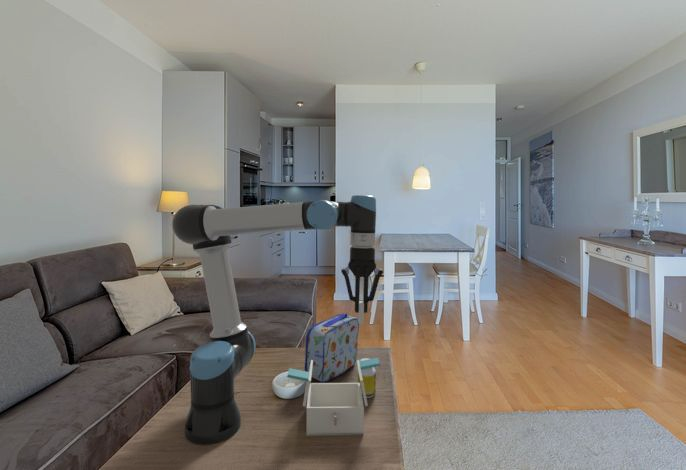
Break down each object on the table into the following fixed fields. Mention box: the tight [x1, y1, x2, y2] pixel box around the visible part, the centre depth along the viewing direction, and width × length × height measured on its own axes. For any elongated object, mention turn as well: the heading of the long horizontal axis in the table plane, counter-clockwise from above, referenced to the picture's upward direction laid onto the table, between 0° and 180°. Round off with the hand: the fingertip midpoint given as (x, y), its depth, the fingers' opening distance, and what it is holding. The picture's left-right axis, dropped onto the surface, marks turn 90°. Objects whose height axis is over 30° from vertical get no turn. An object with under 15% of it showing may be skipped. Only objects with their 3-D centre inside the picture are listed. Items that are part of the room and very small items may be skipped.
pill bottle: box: [356, 357, 377, 399], centre depth 120 cm, size 6×6×12 cm
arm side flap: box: [286, 360, 313, 407], centre depth 104 cm, size 8×13×7 cm
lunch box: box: [304, 313, 360, 383], centre depth 136 cm, size 28×10×22 cm, turn 148°
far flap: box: [356, 357, 381, 407], centre depth 105 cm, size 8×13×7 cm
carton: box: [306, 382, 365, 437], centre depth 104 cm, size 16×16×8 cm
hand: (360, 322), depth 108 cm, fingers closed
